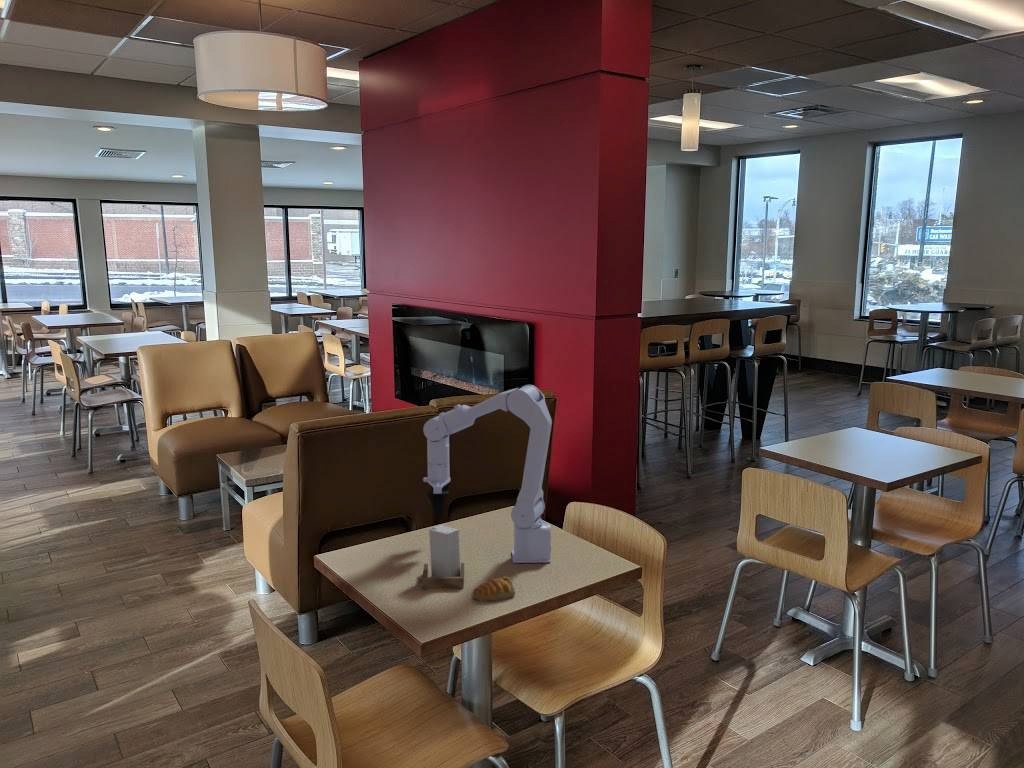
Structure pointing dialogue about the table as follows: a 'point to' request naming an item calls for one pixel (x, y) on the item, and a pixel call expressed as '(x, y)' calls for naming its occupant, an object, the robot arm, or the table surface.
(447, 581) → the bottle holder
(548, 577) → the table surface
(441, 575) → the skincare box
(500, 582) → the pastry
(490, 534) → the table surface
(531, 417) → the robot arm
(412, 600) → the table surface
